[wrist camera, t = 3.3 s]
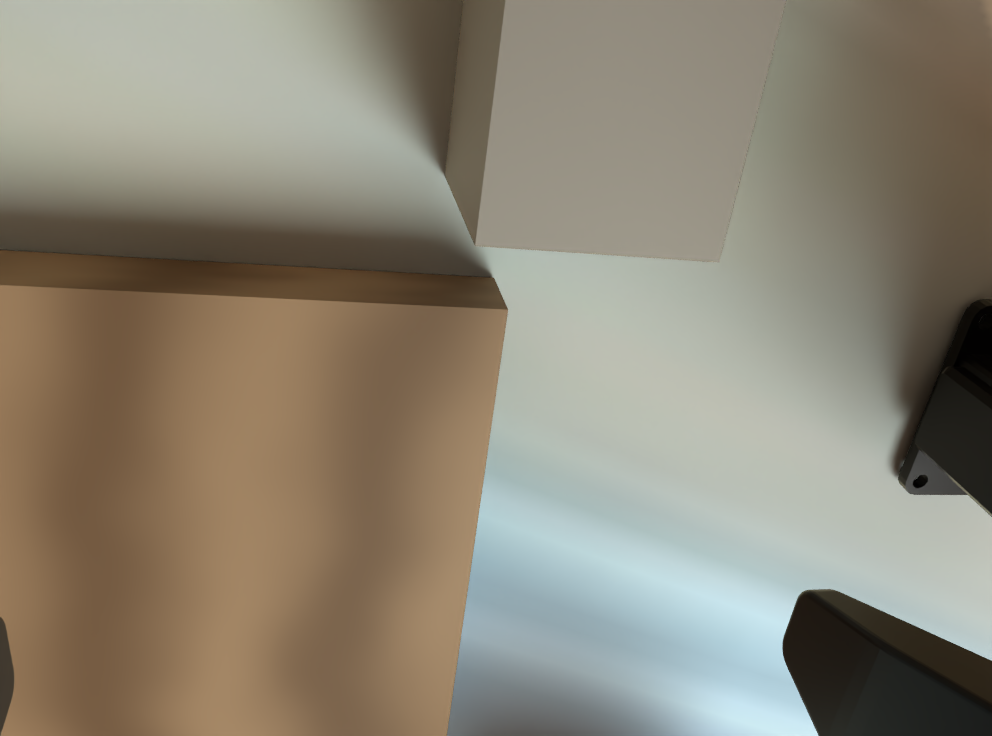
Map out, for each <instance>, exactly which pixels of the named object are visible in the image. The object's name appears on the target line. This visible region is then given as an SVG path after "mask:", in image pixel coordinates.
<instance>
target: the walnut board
mask: <svg viewBox="0 0 992 736" xmlns="http://www.w3.org/2000/svg"><path fill="white" fill-rule="evenodd" d="M507 313H508V309H507V306H506V304H505V302H504V300H503V297H502V295H501V293H500V291H499V288H498V286H497V284H496V282H495V279H494V278H490V277H472V276H454V275H436V274H418V273H401V272H383V271H365V270H347V269H329V268H311V267H294V266H276V265H258V264H240V263H222V262H205V261H187V260H169V259H151V258H133V257H115V256H98V255H80V254H62V253H44V252H26V251H9V250H0V617H1V618H2V619H3V620H4V622H5V625H6V630H7V635H8V641H9V646H10V652H11V657H12V663H13V668H14V691H13V696H12V700H11V704H10V707H9V710H8V713H7V717H6V720H5V723H4V726H3V729H2V733H1V736H447V730H448V723H449V716H450V709H451V702H452V695H453V688H454V681H455V674H456V667H457V660H458V653H459V646H460V640H461V633H462V626H463V619H464V612H465V605H466V598H467V591H468V584H469V577H470V570H471V563H472V556H473V549H474V542H475V535H476V528H477V521H478V515H479V508H480V501H481V494H482V487H483V480H484V473H485V466H486V459H487V452H488V445H489V438H490V431H491V424H492V417H493V410H494V403H495V396H496V390H497V383H498V376H499V369H500V362H501V355H502V348H503V341H504V334H505V327H506V320H507Z"/></svg>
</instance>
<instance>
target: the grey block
mask: <svg viewBox="0 0 992 736" xmlns="http://www.w3.org/2000/svg"><path fill="white" fill-rule="evenodd" d="M785 4H786V0H463V4H462V14H461V24H460V33H459V43H458V53H457V62H456V72H455V82H454V91H453V101H452V111H451V120H450V130H449V140H448V149H447V159H446V168H445V177H446V180H447V182H448V184H449V187H450V189H451V191H452V194H453V196H454V198H455V201H456V203H457V205H458V208H459V210H460V212H461V214H462V217H463V219H464V221H465V224H466V226H467V228H468V231H469V233H470V235H471V238H472V240H473V242H474V245H475V246H482V247H497V248H512V249H527V250H542V251H557V252H572V253H587V254H602V255H617V256H632V257H647V258H662V259H677V260H692V261H707V262H719V260H720V256H721V253H722V249H723V245H724V241H725V237H726V233H727V229H728V225H729V222H730V218H731V214H732V210H733V206H734V202H735V198H736V194H737V191H738V187H739V183H740V179H741V175H742V171H743V167H744V163H745V159H746V156H747V152H748V148H749V144H750V140H751V136H752V132H753V128H754V125H755V121H756V117H757V113H758V109H759V105H760V101H761V97H762V94H763V90H764V86H765V82H766V78H767V74H768V70H769V66H770V62H771V59H772V55H773V51H774V47H775V43H776V39H777V35H778V31H779V28H780V24H781V20H782V16H783V12H784V8H785Z"/></svg>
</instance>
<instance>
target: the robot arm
mask: <svg viewBox="0 0 992 736" xmlns="http://www.w3.org/2000/svg"><path fill="white" fill-rule="evenodd" d="M985 314H986V316H985V318H984V319H983V320H982V321H981V322H980V323H979V321H980V319H981V318H982V317H983V316H984V315H985ZM918 476H919V477H918ZM916 477H918V478H917V479H915V478H916ZM898 480H899V483H900V484H901V485H902V486H903V487H904V488H905V489H906V491H908V492H909V493H910V494H914V495H969V496H970V497H971V498H972V499H973V500H974V501H975V502H976V503H977V504H978V505H979V506H980V507H982V508H983V509H984V510H985V511H986V512H987V513H988V514H989V515H990V516H991V517H992V300H978V301H976V302H974V303H972V304H971V305H970V306H969V307H968V308H967V309H966V311H965V312H964V314H963V316H962V319H961V321H960V324H959V326H958V329H957V331H956V333H955V336H954V338H953V341H952V343H951V346H950V348H949V351H948V353H947V356H946V358H945V361H944V363H943V366H942V368H941V371H940V373H939V376H938V378H937V381H936V383H935V386H934V388H933V391H932V393H931V396H930V398H929V401H928V403H927V406H926V408H925V411H924V413H923V416H922V418H921V421H920V423H919V426H918V428H917V431H916V433H915V436H914V438H913V441H912V443H911V446H910V448H909V451H908V453H907V456H906V458H905V461H904V463H903V466H902V468H901V471H900V473H899V477H898ZM783 656H784V660H785V663H786V665H787V668H788V670H789V672H790V674H791V676H792V678H793V681H794V683H795V685H796V687H797V689H798V692H799V694H800V696H801V698H802V700H803V702H804V705H805V707H806V709H807V711H808V713H809V716H810V718H811V720H812V722H813V724H814V727H815V729H816V731H817V733H818V735H819V736H992V661H991V660H989V659H986V658H984V657H982V656H980V655H978V654H975V653H973V652H971V651H969V650H967V649H964V648H962V647H960V646H958V645H955V644H953V643H951V642H949V641H947V640H944V639H942V638H940V637H938V636H936V635H933V634H931V633H929V632H927V631H925V630H922V629H920V628H918V627H916V626H914V625H911V624H909V623H907V622H905V621H902V620H900V619H898V618H896V617H894V616H891V615H889V614H887V613H885V612H883V611H880V610H878V609H876V608H874V607H872V606H869V605H867V604H865V603H863V602H861V601H858V600H856V599H854V598H852V597H849V596H847V595H845V594H843V593H841V592H838V591H835V590H831V589H821V590H806V591H804V592H802V593H801V594H800V595H799V597H798V599H797V601H796V604H795V607H794V610H793V612H792V615H791V618H790V621H789V624H788V626H787V629H786V632H785V635H784V638H783ZM13 691H14V668H13V663H12V657H11V652H10V646H9V641H8V635H7V630H6V625H5V622H4V620H3V619H2V618H1V617H0V736H1V733H2V729H3V726H4V723H5V720H6V717H7V713H8V710H9V707H10V704H11V700H12V696H13Z"/></svg>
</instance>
